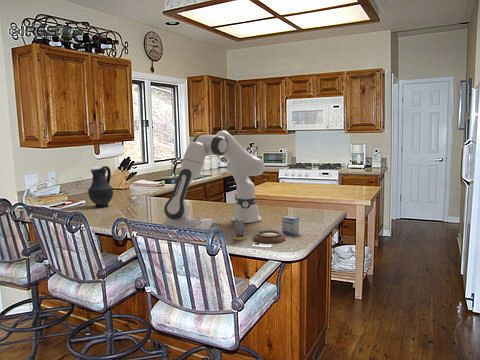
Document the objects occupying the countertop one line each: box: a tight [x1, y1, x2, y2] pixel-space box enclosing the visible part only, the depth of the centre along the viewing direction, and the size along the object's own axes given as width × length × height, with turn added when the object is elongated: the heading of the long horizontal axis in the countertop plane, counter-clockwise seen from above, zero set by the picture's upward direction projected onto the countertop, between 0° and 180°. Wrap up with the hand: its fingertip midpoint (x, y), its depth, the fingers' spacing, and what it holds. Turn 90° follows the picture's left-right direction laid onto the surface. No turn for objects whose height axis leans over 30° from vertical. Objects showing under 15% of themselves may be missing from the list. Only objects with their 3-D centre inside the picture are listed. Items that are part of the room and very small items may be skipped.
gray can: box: [233, 219, 247, 241], centre depth 206 cm, size 6×6×10 cm
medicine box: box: [281, 215, 300, 236], centre depth 216 cm, size 8×4×9 cm, turn 52°
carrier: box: [253, 229, 286, 244], centre depth 205 cm, size 16×16×3 cm
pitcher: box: [87, 165, 114, 209], centre depth 303 cm, size 17×21×30 cm
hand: (220, 227), depth 207 cm, fingers open, 8 cm apart
